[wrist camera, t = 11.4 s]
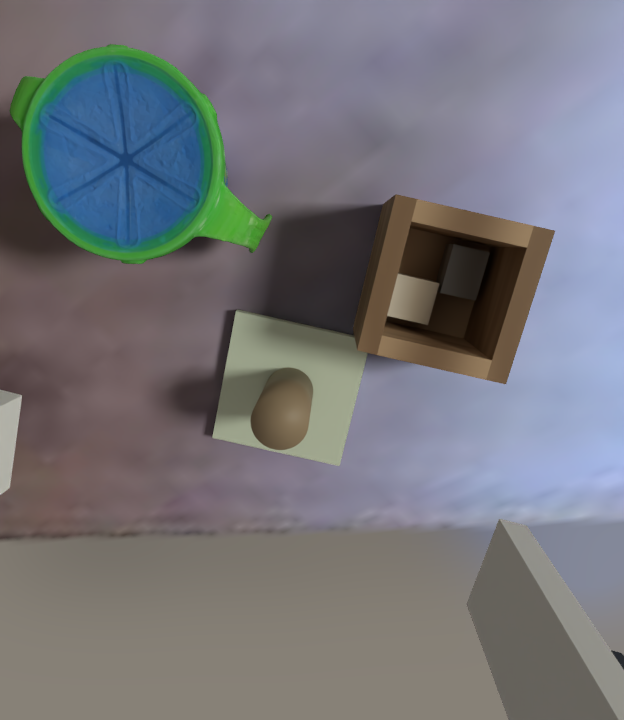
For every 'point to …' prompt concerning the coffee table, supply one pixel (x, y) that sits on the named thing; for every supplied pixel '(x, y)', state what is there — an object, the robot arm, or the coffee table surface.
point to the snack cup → (128, 157)
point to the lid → (289, 387)
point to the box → (449, 288)
